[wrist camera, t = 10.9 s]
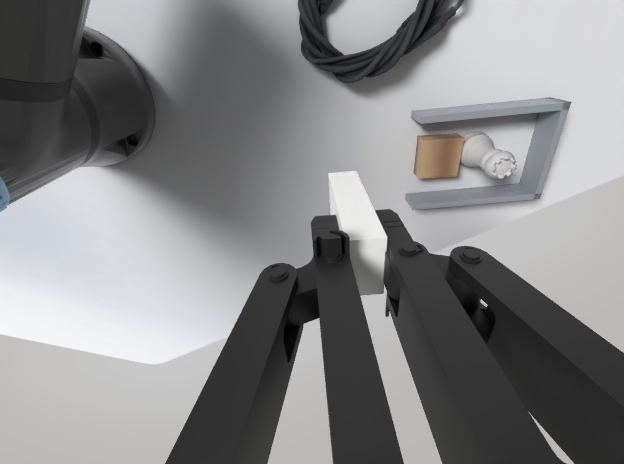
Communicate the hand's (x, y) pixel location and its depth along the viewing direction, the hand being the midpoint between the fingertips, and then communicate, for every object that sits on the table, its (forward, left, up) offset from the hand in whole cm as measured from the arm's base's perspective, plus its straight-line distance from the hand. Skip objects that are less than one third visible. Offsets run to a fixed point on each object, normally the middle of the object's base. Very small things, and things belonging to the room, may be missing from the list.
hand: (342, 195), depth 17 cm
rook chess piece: (+19, -6, -25) cm, 32 cm away
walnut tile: (+15, -6, -25) cm, 29 cm away
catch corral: (+20, -7, -24) cm, 32 cm away
